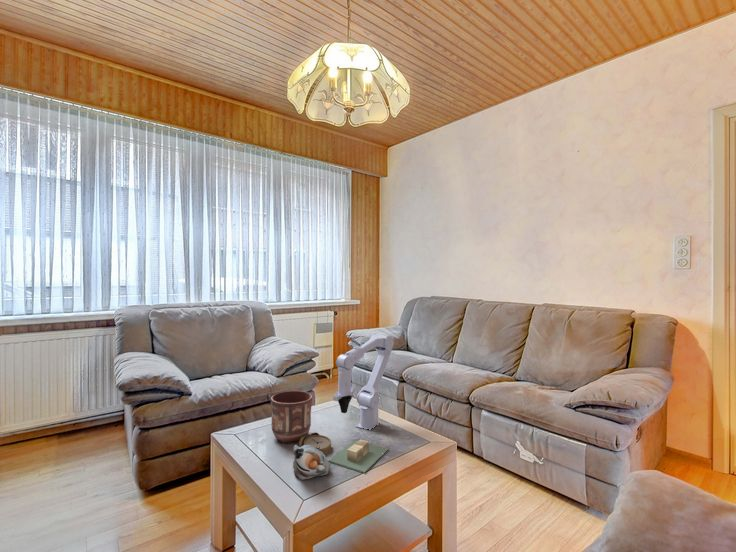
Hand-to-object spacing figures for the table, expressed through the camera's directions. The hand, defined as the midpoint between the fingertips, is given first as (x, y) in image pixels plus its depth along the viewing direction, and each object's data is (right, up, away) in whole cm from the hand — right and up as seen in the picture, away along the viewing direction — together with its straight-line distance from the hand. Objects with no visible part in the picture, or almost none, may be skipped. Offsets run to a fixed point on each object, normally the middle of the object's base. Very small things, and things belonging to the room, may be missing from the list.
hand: (343, 412), depth 161 cm
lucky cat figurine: (-9, -11, -31) cm, 34 cm away
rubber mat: (+7, -11, -17) cm, 22 cm away
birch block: (+9, -8, -14) cm, 19 cm away
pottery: (-23, -10, -2) cm, 25 cm away
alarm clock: (-11, -11, -11) cm, 20 cm away
